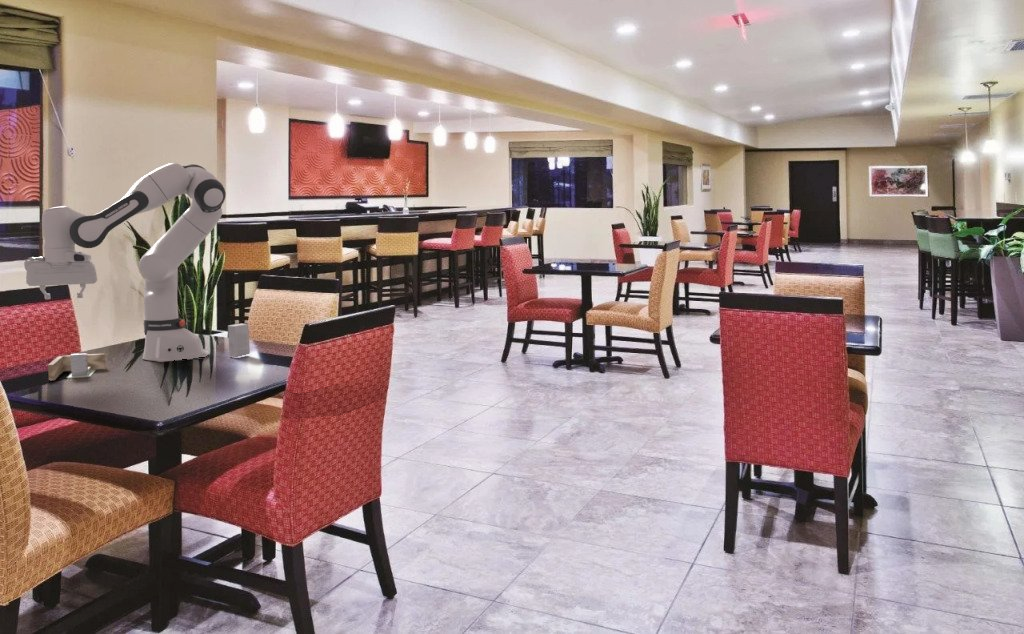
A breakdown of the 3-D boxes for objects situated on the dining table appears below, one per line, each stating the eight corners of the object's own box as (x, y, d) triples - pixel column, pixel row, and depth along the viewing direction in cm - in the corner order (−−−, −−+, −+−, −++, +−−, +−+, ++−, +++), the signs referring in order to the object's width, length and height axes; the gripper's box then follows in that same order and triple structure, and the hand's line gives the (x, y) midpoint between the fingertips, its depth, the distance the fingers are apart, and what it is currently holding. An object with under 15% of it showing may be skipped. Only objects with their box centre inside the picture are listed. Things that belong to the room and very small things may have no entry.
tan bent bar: (106, 368, 270) (105, 353, 270) (98, 377, 255) (97, 362, 255) (59, 370, 266) (58, 355, 265) (48, 380, 251) (47, 365, 250)
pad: (95, 370, 267) (95, 369, 267) (90, 376, 256) (90, 376, 256) (73, 371, 264) (73, 370, 264) (67, 378, 254) (66, 377, 254)
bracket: (87, 375, 257) (85, 354, 256) (71, 376, 256) (70, 355, 255) (91, 370, 265) (89, 350, 264) (76, 371, 263) (75, 350, 262)
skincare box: (242, 355, 294) (241, 323, 292) (250, 356, 291) (248, 324, 290) (228, 357, 289) (227, 325, 287) (236, 359, 286) (234, 326, 285)
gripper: (21, 258, 253) (25, 301, 255) (93, 256, 260) (96, 298, 262) (25, 256, 259) (29, 299, 261) (96, 254, 266) (99, 296, 268)
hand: (64, 298), depth 262 cm, fingers open, 8 cm apart
